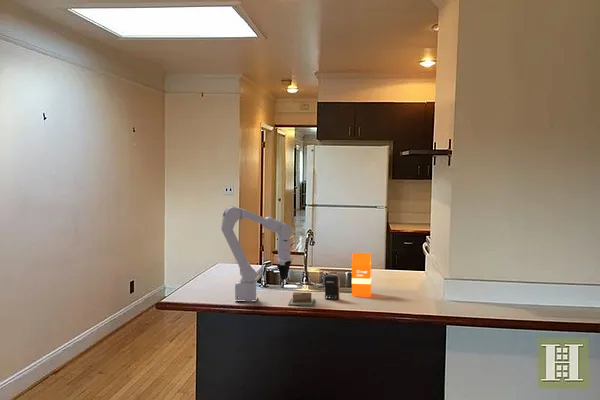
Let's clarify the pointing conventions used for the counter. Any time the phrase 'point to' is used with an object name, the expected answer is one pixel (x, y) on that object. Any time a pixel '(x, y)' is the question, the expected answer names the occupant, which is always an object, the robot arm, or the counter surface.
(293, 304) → the mat
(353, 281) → the orange juice
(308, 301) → the tan block
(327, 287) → the black upright block
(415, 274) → the counter surface
